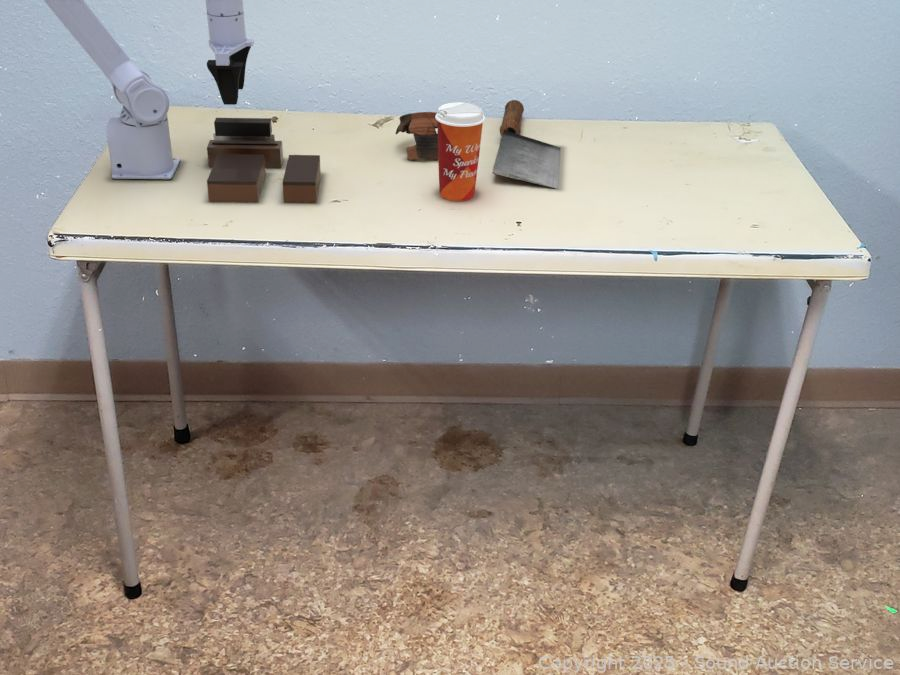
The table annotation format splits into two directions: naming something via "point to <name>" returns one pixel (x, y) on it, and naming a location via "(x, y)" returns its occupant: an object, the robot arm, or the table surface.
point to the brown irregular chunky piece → (421, 134)
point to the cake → (236, 178)
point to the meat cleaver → (525, 152)
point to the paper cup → (458, 149)
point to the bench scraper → (243, 131)
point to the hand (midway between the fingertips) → (233, 96)
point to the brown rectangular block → (302, 179)
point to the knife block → (248, 152)
